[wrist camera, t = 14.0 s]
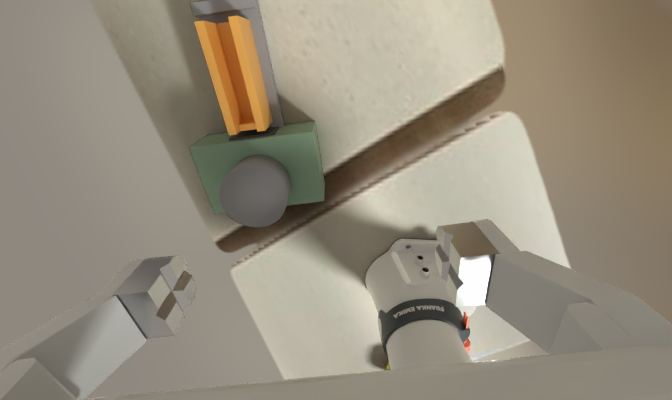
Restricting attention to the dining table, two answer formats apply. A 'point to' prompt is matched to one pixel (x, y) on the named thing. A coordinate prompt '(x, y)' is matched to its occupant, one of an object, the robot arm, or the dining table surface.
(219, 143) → the green coffee machine
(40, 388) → the robot arm
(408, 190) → the dining table surface
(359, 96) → the dining table surface
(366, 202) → the dining table surface
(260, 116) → the chute
